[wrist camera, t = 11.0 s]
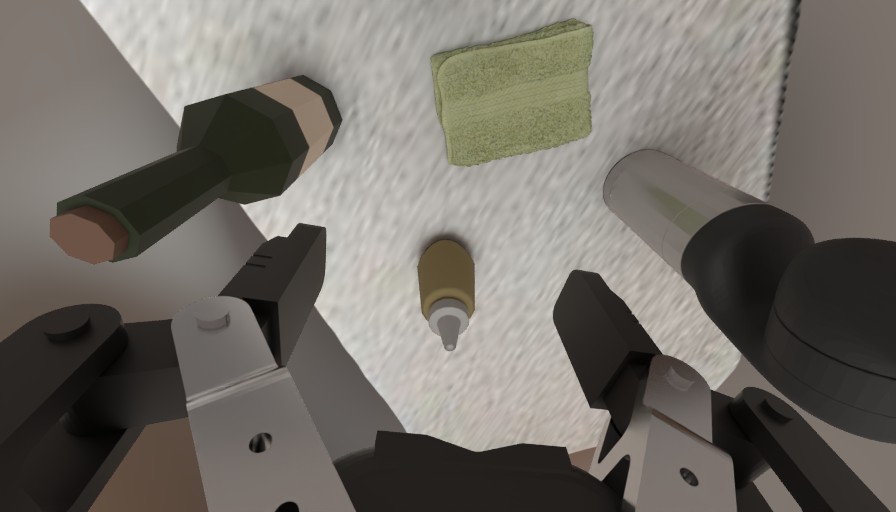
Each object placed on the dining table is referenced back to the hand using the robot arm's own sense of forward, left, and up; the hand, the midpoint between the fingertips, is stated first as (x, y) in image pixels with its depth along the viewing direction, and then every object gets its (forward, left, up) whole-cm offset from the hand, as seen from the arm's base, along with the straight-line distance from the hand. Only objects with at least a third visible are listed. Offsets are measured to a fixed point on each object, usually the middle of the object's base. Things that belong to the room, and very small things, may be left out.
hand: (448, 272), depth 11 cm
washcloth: (-8, -2, -35) cm, 36 cm away
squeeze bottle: (-5, +20, -34) cm, 40 cm away
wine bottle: (+15, +4, -34) cm, 38 cm away
